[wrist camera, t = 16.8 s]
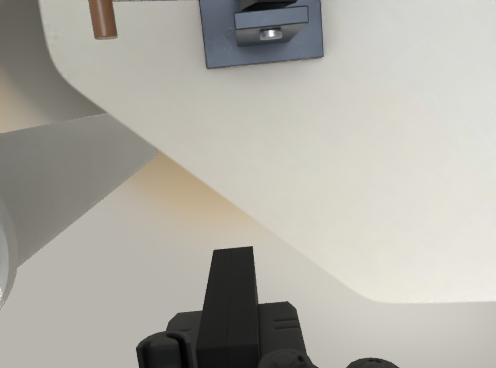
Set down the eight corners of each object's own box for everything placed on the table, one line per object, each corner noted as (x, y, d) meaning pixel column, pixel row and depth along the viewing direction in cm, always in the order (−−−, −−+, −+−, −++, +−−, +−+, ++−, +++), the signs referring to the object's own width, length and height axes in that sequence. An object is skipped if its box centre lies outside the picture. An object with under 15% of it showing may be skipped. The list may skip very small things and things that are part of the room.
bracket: (207, 69, 39) (190, 61, 26) (196, -29, 37) (173, -87, 25) (321, 57, 39) (358, 44, 26) (315, -41, 37) (351, -106, 25)
